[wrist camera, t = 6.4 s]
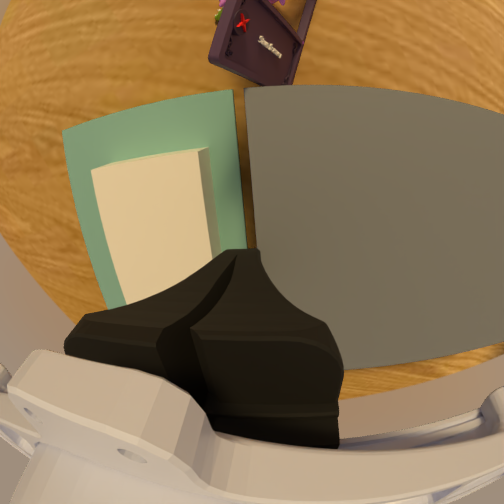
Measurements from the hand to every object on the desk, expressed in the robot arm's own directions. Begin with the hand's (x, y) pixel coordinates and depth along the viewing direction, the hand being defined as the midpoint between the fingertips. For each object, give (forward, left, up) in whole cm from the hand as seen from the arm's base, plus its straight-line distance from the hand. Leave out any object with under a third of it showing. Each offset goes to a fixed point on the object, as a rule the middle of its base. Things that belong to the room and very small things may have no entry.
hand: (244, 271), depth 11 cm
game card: (-1, -12, -5) cm, 13 cm away
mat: (+6, 0, -5) cm, 8 cm away
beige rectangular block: (+5, 0, -2) cm, 6 cm away
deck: (-9, 0, -5) cm, 10 cm away
